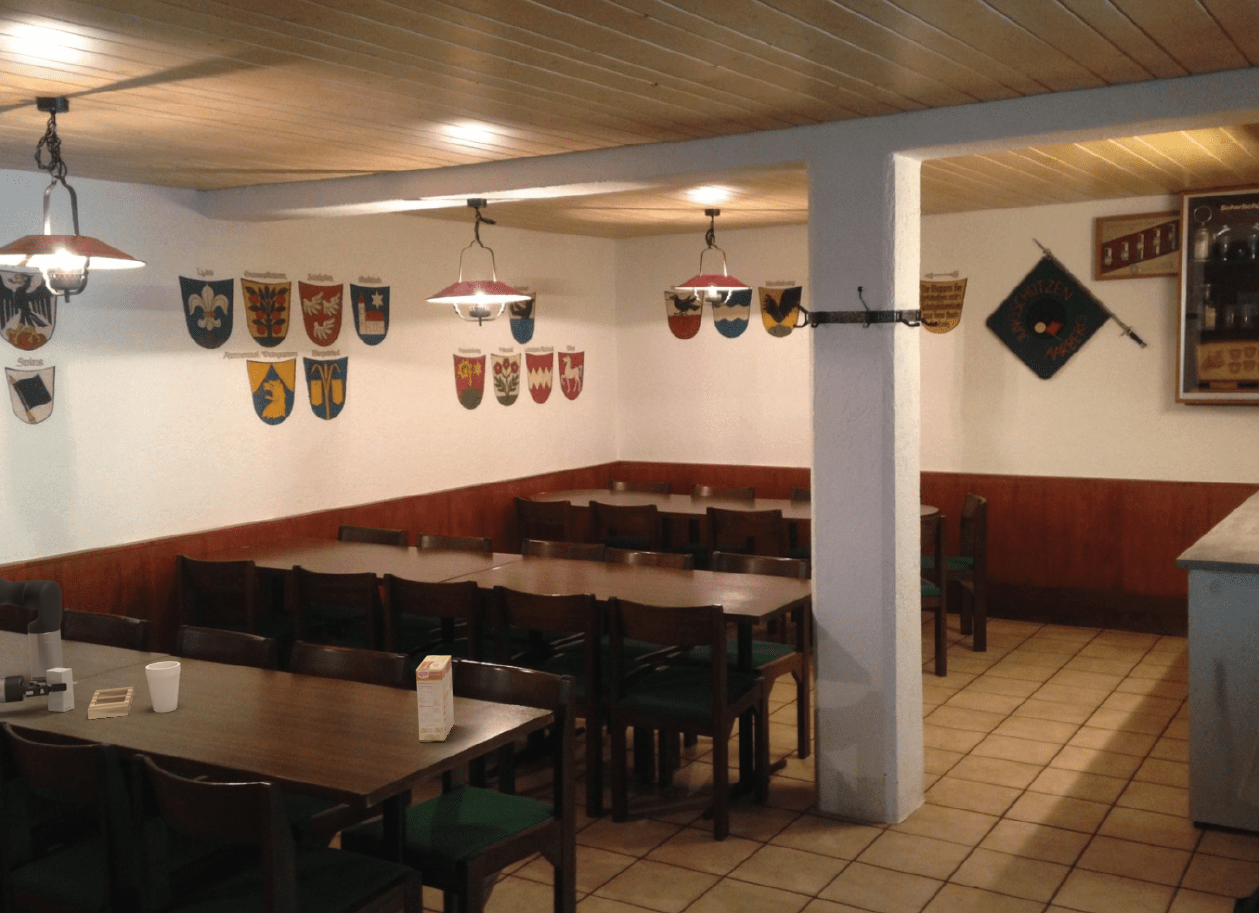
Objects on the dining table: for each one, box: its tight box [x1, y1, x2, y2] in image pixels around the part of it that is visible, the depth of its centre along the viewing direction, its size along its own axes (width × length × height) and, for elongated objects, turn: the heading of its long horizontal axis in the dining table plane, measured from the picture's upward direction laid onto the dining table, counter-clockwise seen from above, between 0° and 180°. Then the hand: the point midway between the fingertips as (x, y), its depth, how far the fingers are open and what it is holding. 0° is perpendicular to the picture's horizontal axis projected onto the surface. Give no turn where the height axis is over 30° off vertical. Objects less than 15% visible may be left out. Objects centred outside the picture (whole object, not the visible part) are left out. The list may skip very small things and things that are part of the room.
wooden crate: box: [87, 686, 135, 720], centre depth 352 cm, size 22×10×3 cm, turn 19°
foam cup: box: [144, 660, 182, 713], centre depth 349 cm, size 10×9×13 cm
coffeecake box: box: [415, 654, 455, 741], centre depth 319 cm, size 15×7×20 cm, turn 178°
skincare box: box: [46, 667, 75, 713], centre depth 351 cm, size 6×4×12 cm
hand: (68, 683), depth 352 cm, fingers closed on skincare box, 7 cm apart
